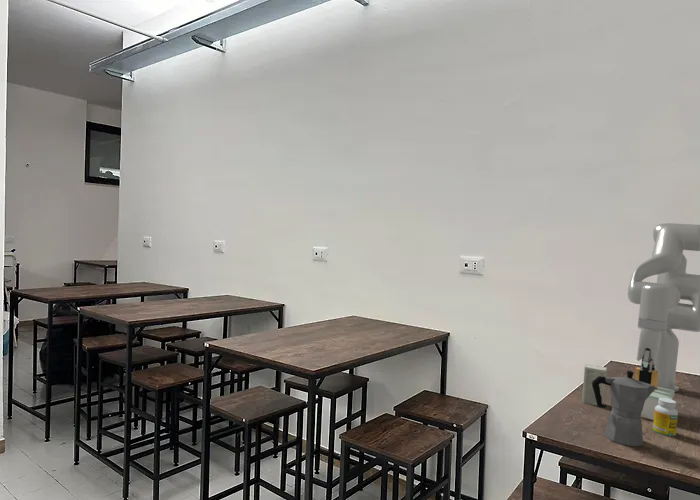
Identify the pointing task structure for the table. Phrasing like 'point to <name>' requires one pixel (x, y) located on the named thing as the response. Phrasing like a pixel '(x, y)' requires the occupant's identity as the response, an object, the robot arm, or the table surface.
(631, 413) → the coffeepot
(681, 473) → the table surface
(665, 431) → the supplement bottle
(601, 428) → the table surface
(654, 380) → the lid
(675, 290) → the robot arm
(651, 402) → the tub
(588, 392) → the skincare box
